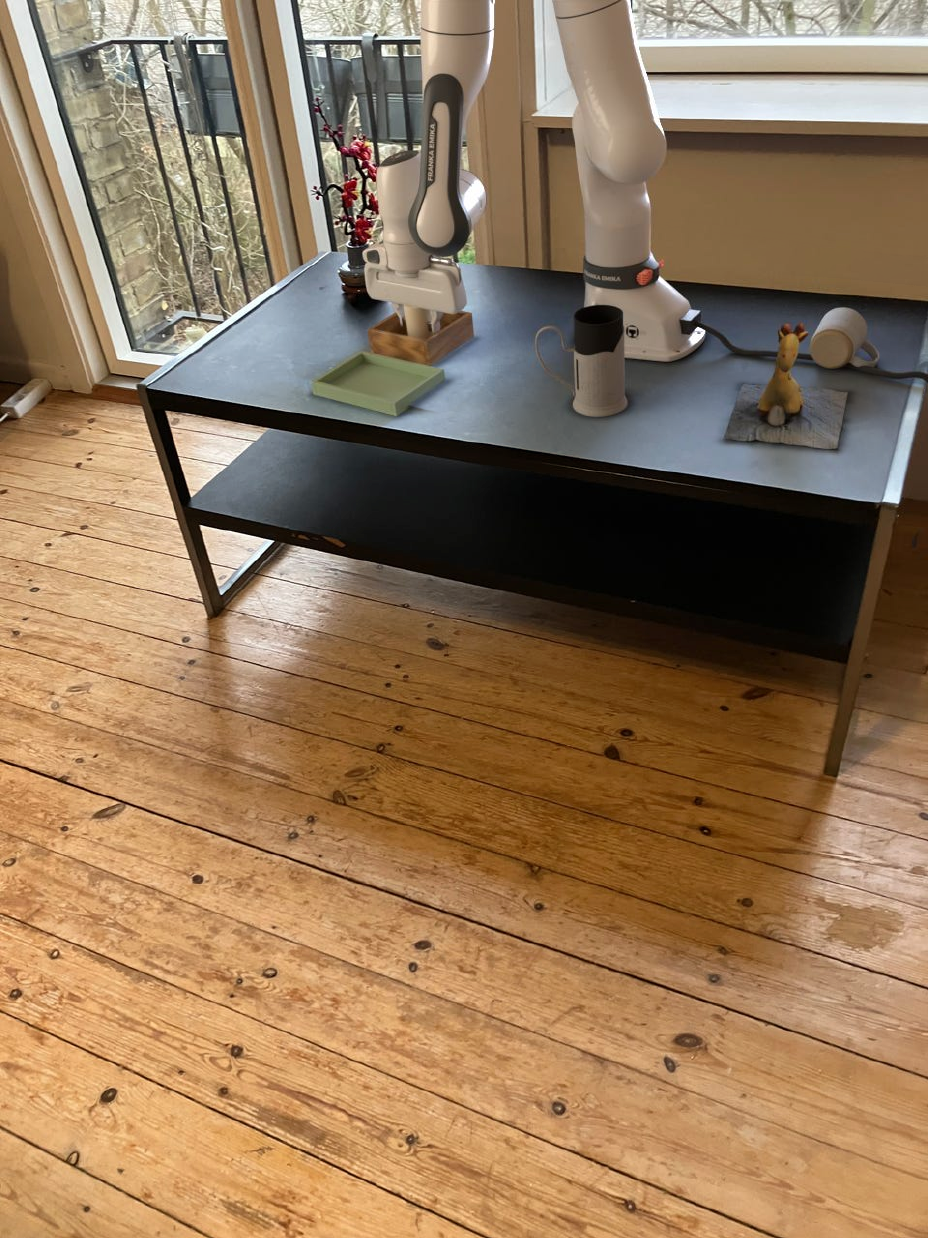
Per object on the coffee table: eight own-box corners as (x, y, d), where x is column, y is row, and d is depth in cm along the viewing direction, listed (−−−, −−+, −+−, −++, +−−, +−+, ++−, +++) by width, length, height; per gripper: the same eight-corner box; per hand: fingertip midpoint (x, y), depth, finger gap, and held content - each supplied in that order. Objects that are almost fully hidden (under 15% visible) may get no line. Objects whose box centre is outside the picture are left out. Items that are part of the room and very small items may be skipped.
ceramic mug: (804, 368, 170) (810, 323, 165) (817, 347, 176) (823, 303, 171) (871, 378, 166) (879, 332, 161) (882, 356, 171) (891, 311, 166)
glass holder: (630, 414, 164) (630, 323, 155) (540, 421, 165) (534, 331, 156) (624, 389, 171) (624, 300, 162) (538, 395, 172) (532, 308, 163)
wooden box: (474, 339, 192) (471, 312, 189) (430, 369, 184) (426, 342, 181) (416, 327, 199) (412, 301, 196) (371, 355, 191) (367, 329, 188)
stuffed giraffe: (723, 438, 155) (735, 336, 145) (742, 387, 168) (754, 290, 158) (836, 452, 150) (855, 347, 140) (846, 398, 163) (865, 299, 154)
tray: (445, 382, 179) (444, 369, 178) (396, 416, 171) (394, 403, 170) (363, 362, 189) (361, 350, 187) (313, 394, 181) (310, 381, 179)
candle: (441, 341, 191) (436, 299, 186) (425, 352, 188) (419, 309, 183) (420, 336, 194) (414, 294, 189) (403, 347, 191) (397, 305, 186)
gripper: (469, 253, 177) (477, 330, 186) (377, 239, 187) (388, 312, 196) (448, 266, 173) (456, 344, 182) (354, 251, 184) (366, 325, 192)
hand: (420, 328), depth 189 cm, fingers closed on candle, 5 cm apart
